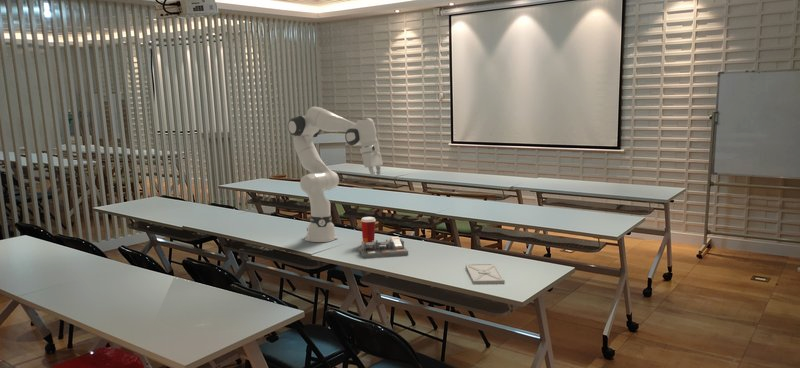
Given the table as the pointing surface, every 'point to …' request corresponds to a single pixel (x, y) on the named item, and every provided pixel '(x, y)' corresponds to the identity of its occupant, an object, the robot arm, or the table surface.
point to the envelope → (484, 273)
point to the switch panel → (382, 250)
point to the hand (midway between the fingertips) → (376, 175)
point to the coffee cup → (368, 229)
